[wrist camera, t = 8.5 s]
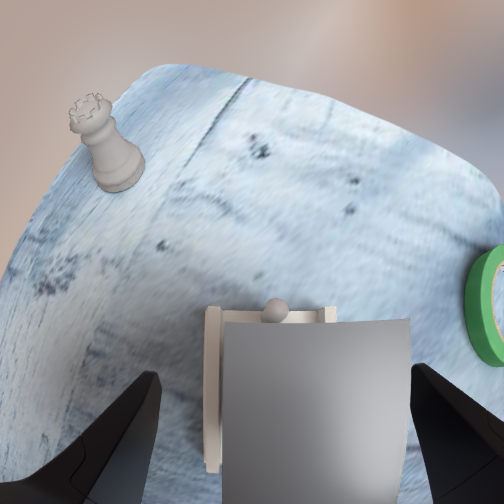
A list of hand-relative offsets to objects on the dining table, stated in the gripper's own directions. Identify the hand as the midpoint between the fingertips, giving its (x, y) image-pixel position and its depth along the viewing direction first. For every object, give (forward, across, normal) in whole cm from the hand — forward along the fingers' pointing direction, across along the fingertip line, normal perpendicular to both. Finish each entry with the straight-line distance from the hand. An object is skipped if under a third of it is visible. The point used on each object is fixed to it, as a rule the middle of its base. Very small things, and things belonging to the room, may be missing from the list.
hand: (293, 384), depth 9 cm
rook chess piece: (+17, +12, -4) cm, 21 cm away
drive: (+5, 0, +7) cm, 8 cm away
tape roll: (+9, -22, +5) cm, 24 cm away
